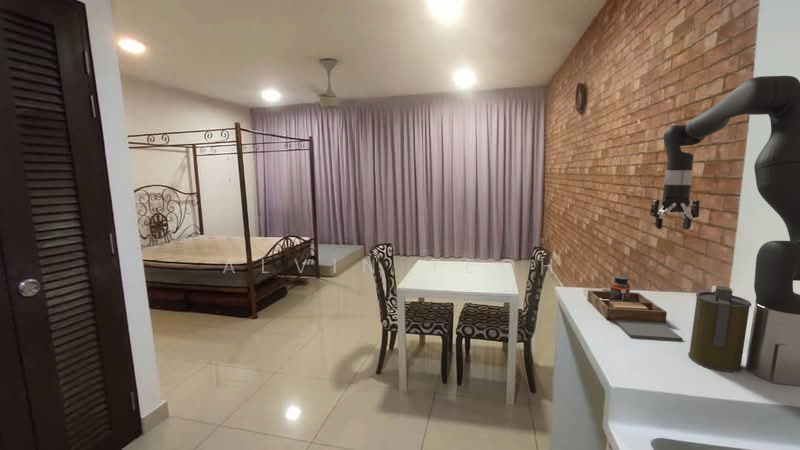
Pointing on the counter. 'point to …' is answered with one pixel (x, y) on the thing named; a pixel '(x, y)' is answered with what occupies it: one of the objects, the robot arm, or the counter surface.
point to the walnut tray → (614, 314)
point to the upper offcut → (627, 305)
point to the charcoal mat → (647, 330)
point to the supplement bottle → (620, 289)
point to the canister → (719, 330)
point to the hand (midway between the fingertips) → (672, 228)
